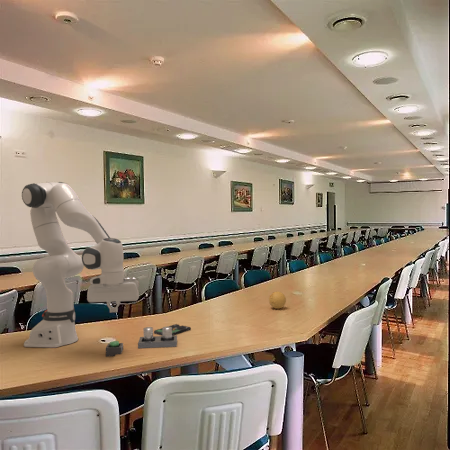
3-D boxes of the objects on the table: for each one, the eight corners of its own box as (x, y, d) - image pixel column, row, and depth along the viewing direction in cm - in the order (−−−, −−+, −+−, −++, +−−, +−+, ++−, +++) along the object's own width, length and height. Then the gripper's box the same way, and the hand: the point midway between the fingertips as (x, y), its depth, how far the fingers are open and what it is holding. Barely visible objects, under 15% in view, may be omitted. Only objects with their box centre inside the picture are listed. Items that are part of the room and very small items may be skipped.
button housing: (105, 356, 173) (105, 348, 173) (108, 351, 179) (108, 343, 179) (121, 356, 174) (120, 347, 173) (123, 351, 179) (123, 342, 179)
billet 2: (162, 345, 184) (162, 329, 184) (163, 342, 188) (162, 326, 188) (172, 345, 184) (171, 328, 184) (172, 342, 188) (172, 326, 188)
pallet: (138, 350, 180) (137, 343, 180) (140, 343, 189) (140, 336, 189) (176, 348, 182) (176, 341, 182) (177, 342, 191) (177, 335, 191)
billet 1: (143, 346, 183) (143, 330, 183) (144, 343, 187) (143, 327, 187) (153, 345, 184) (152, 329, 183) (153, 342, 188) (153, 326, 187)
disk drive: (175, 329, 214) (153, 336, 202) (175, 323, 214) (153, 330, 202) (191, 332, 208) (169, 339, 196) (191, 327, 208) (169, 333, 196)
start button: (109, 346, 174) (109, 343, 174) (110, 344, 178) (110, 341, 178) (118, 346, 174) (118, 343, 174) (119, 343, 178) (119, 340, 178)
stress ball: (287, 310, 253) (283, 296, 260) (288, 299, 246) (283, 286, 253) (271, 313, 252) (266, 300, 259) (271, 303, 245) (266, 289, 253)
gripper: (139, 276, 179) (140, 309, 180) (89, 277, 178) (90, 311, 178) (138, 278, 173) (138, 313, 173) (85, 280, 171) (86, 315, 172)
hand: (113, 312), depth 176 cm, fingers closed
